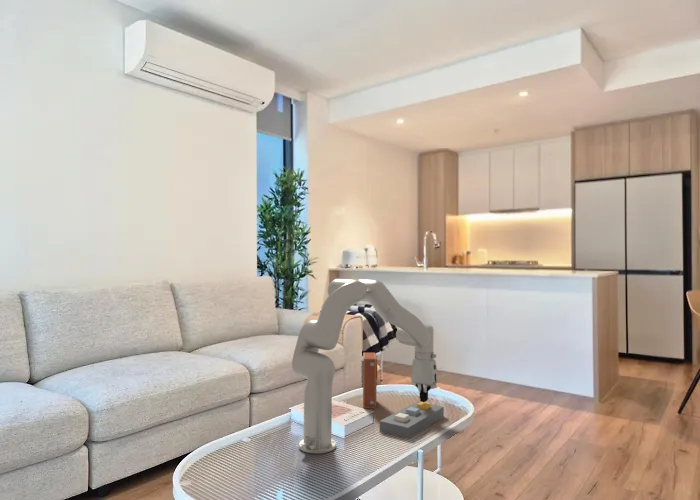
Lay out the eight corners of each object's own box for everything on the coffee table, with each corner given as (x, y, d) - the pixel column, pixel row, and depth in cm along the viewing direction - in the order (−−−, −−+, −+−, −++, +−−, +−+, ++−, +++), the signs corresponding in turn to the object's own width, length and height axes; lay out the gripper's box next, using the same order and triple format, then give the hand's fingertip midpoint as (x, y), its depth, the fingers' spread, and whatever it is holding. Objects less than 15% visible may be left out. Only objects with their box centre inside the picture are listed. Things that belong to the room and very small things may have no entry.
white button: (403, 425, 178) (403, 417, 178) (394, 423, 181) (394, 415, 181) (409, 422, 181) (409, 414, 182) (399, 420, 184) (399, 412, 184)
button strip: (408, 439, 173) (408, 427, 173) (379, 431, 180) (379, 420, 180) (443, 416, 197) (443, 406, 197) (417, 411, 204) (417, 401, 204)
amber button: (425, 413, 193) (425, 405, 193) (416, 411, 195) (416, 403, 195) (430, 410, 196) (430, 403, 196) (421, 408, 198) (421, 401, 198)
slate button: (415, 419, 186) (415, 411, 186) (406, 417, 188) (406, 409, 188) (420, 416, 189) (420, 408, 189) (410, 414, 191) (411, 406, 191)
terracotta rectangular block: (376, 399, 221) (377, 409, 206) (360, 398, 221) (361, 409, 206) (376, 352, 221) (377, 358, 206) (361, 351, 221) (361, 358, 206)
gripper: (445, 356, 195) (444, 402, 194) (411, 352, 203) (411, 395, 203) (436, 359, 189) (436, 407, 188) (403, 355, 197) (403, 400, 197)
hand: (423, 401), depth 196 cm, fingers closed
